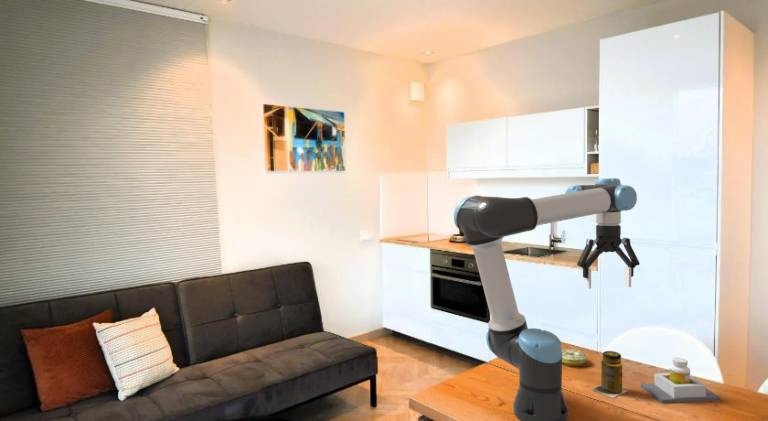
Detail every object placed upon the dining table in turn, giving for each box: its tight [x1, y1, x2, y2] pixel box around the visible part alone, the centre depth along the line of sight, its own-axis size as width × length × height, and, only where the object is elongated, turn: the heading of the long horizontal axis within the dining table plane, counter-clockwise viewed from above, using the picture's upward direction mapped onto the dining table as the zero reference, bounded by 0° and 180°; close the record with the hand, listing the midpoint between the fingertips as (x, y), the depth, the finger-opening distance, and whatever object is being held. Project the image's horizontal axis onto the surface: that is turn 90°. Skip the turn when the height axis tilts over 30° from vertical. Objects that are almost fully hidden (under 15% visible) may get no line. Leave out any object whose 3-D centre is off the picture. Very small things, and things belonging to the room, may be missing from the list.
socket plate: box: [640, 372, 722, 404], centre depth 149 cm, size 18×11×4 cm, turn 92°
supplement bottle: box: [669, 357, 691, 384], centre depth 148 cm, size 5×5×10 cm
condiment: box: [591, 350, 629, 399], centre depth 152 cm, size 7×8×12 cm
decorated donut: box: [562, 348, 589, 368], centre depth 176 cm, size 10×11×4 cm
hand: (608, 287), depth 161 cm, fingers open, 13 cm apart
